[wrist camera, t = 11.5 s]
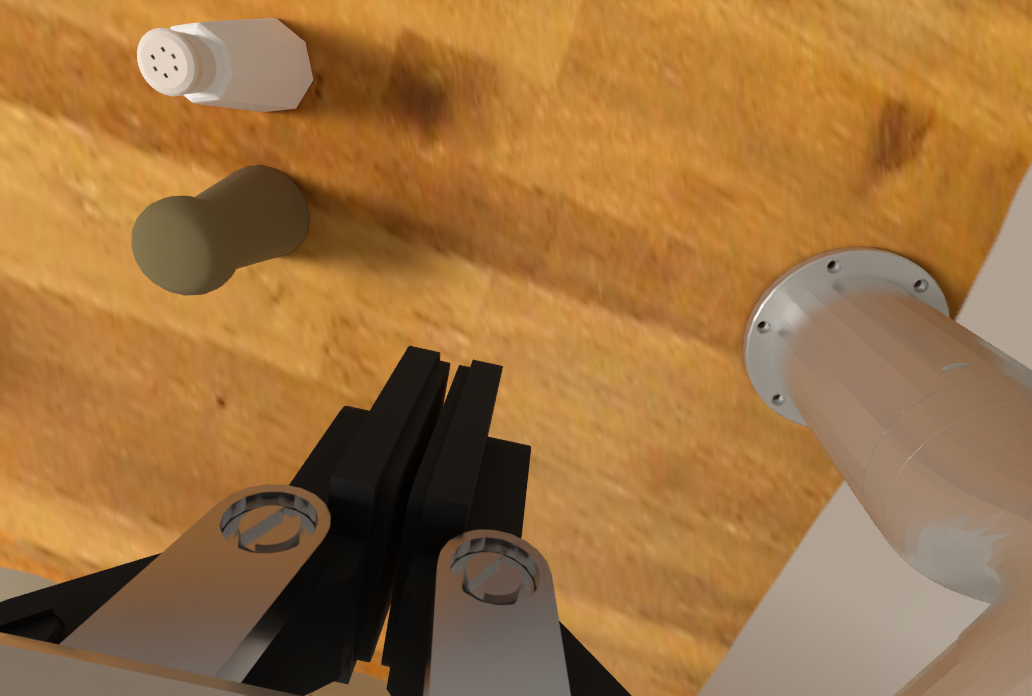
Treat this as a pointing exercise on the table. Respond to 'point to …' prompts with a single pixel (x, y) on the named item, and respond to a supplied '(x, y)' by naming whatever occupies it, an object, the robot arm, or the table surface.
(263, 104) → the salt shaker
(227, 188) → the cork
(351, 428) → the robot arm
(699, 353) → the table surface
